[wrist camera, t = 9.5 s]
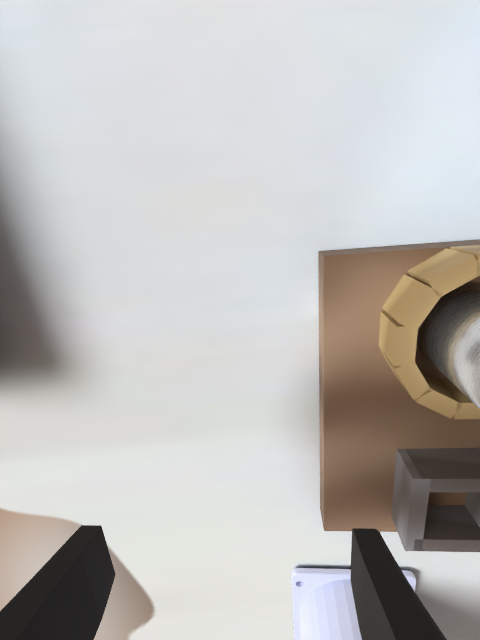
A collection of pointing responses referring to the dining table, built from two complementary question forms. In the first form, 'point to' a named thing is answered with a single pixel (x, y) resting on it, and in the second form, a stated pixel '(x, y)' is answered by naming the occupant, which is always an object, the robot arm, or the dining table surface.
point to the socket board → (395, 399)
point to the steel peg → (455, 338)
